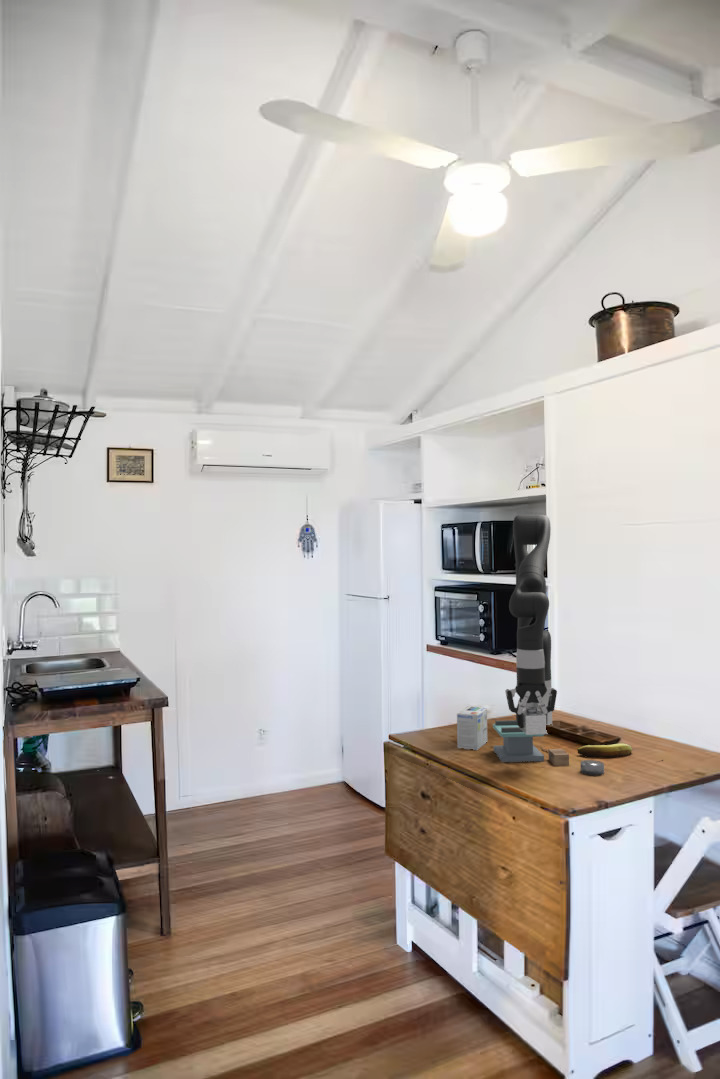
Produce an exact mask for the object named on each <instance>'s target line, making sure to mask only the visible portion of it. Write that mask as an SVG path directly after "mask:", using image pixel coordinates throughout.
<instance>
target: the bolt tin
mask: <svg viewBox="0 0 720 1079" xmlns="http://www.w3.org/2000/svg"><path fill="white" fill-rule="evenodd" d="M580 773H581V774H583V775H587V776H595V775H598V776H602V774H603V775H604V774H605V763H604V762H602V761H599V760H594V759H593V760H592V759H591V760H589V759H585V760H582V761H580Z"/></svg>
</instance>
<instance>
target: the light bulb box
mask: <svg viewBox="0 0 720 1079" xmlns="http://www.w3.org/2000/svg"><path fill="white" fill-rule="evenodd" d="M456 728H457V729H456V731H457V732H456V733H457V734H456V736H457V739H456V740H457V743H456V744H457V749H461V748H464V749H463V750H470V749H473V750H472V751H479V749H480V747H481V748H482V747H483V746H484V745H486V744H487V743H488V708H487V707H478V706H477V707H476V706H467V707H465V708H463V709H462V710H461V711H459V712H457V713H456ZM486 742H487V743H486Z"/></svg>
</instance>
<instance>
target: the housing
mask: <svg viewBox="0 0 720 1079" xmlns="http://www.w3.org/2000/svg"><path fill="white" fill-rule="evenodd" d="M522 715H523V728H520V729H521V730H522V731H523V732H524V733H525V734H526V735H535V734H544V735H548V734H547V730H546V715H545V714H544V713H543V712H541V711H540V710H539V709H538V708H536V707H527V708H524V709H523V711H522ZM518 727H519V726H518Z"/></svg>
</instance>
